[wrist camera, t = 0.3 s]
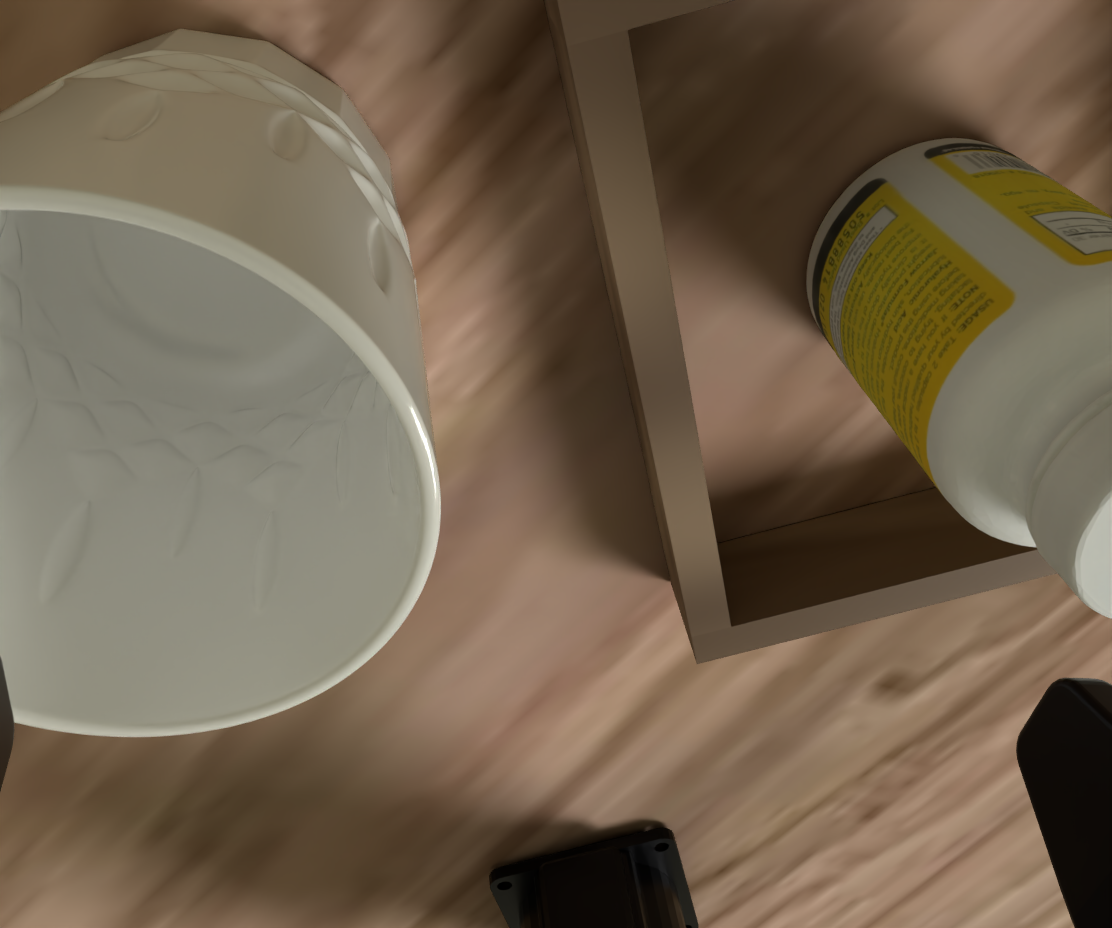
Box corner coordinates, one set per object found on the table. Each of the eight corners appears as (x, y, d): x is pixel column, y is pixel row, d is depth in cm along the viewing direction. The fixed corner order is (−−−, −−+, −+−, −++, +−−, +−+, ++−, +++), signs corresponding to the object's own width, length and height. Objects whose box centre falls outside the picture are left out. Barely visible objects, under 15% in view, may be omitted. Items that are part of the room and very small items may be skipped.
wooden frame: (1174, 455, 26) (1252, 523, 24) (670, 583, 27) (697, 663, 24) (1309, -266, 17) (1459, -273, 15) (533, -50, 17) (552, -21, 15)
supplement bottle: (837, 394, 24) (1048, 703, 16) (769, 205, 21) (988, 472, 13) (1052, 296, 23) (1390, 571, 15) (1014, 84, 20) (1412, 289, 12)
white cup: (447, 28, 18) (477, 236, 10) (412, 393, 22) (413, 743, 14) (-18, -42, 17) (-428, 136, 8) (41, 363, 21) (-192, 737, 13)
